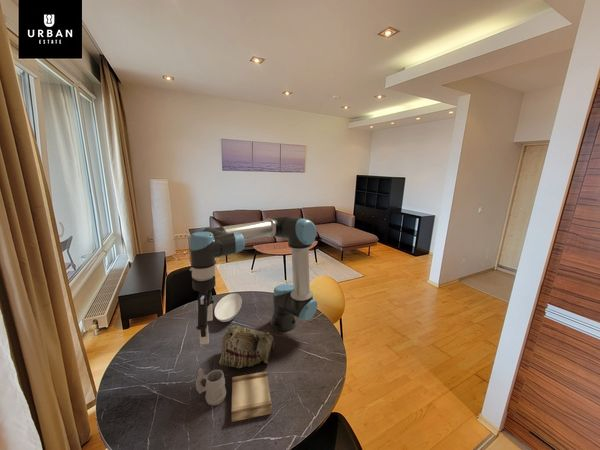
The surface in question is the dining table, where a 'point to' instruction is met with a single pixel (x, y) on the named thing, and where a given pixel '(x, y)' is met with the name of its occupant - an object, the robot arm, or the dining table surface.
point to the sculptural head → (245, 347)
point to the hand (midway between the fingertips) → (206, 331)
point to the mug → (212, 386)
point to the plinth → (250, 396)
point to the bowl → (228, 307)
